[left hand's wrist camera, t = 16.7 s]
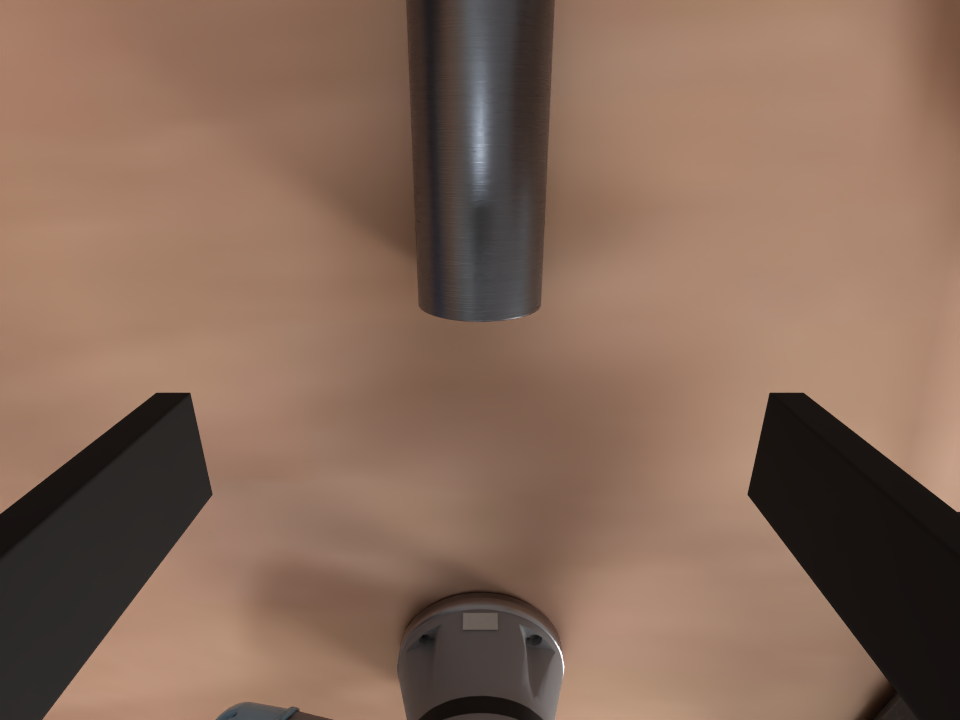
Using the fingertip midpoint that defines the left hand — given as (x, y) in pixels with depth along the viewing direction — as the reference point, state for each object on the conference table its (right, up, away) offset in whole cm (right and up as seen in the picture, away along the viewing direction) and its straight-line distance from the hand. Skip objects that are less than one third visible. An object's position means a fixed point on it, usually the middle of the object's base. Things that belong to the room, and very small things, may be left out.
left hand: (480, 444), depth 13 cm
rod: (0, +19, +21) cm, 29 cm away
